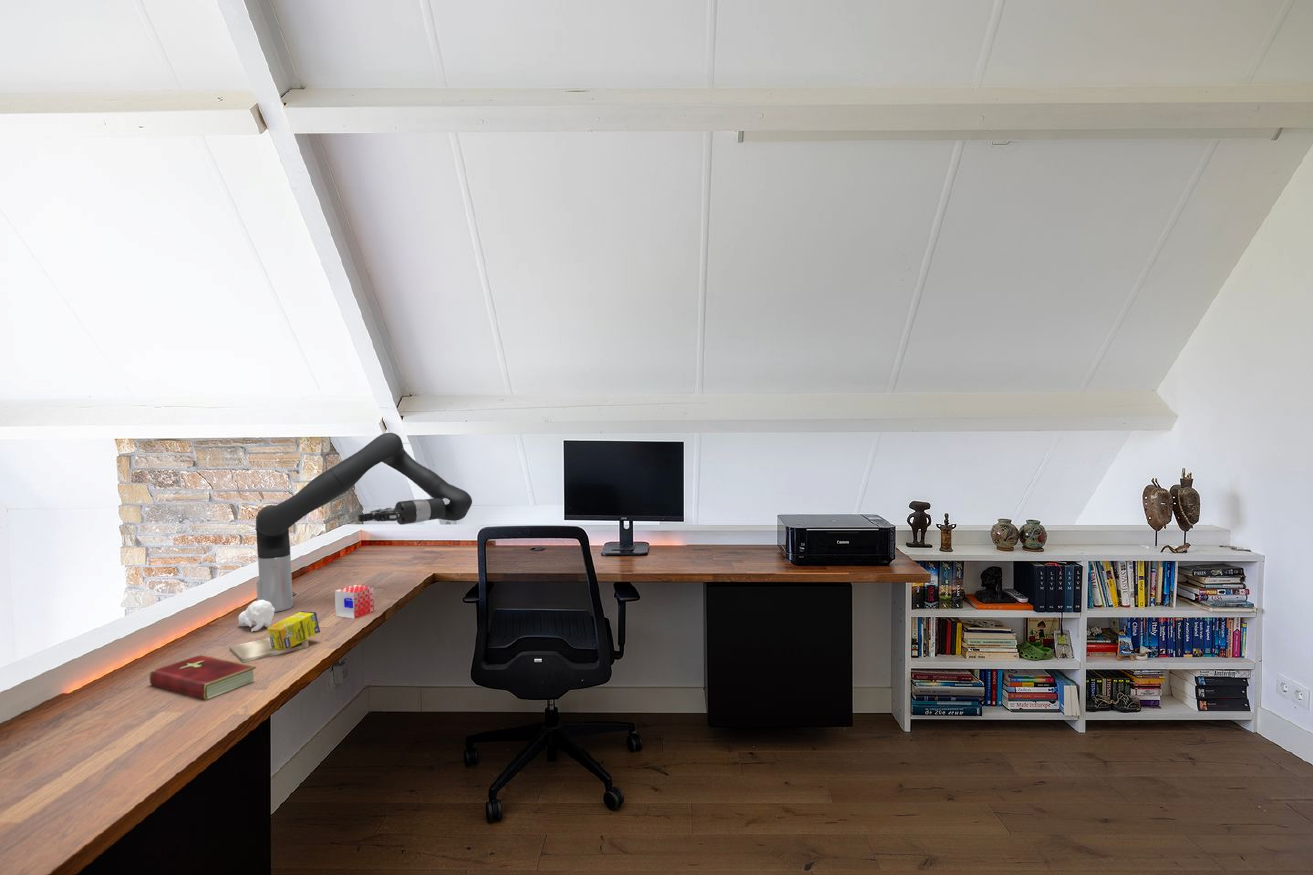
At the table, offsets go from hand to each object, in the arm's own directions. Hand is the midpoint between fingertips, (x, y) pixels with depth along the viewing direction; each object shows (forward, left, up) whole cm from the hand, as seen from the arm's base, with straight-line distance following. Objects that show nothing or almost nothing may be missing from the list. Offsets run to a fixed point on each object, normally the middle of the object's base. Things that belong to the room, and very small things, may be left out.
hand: (359, 518), depth 220 cm
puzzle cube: (-3, +1, -30) cm, 30 cm away
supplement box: (-7, -24, -24) cm, 35 cm away
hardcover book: (-23, -51, -31) cm, 64 cm away
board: (-18, -29, -30) cm, 45 cm away
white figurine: (-29, -8, -30) cm, 42 cm away
